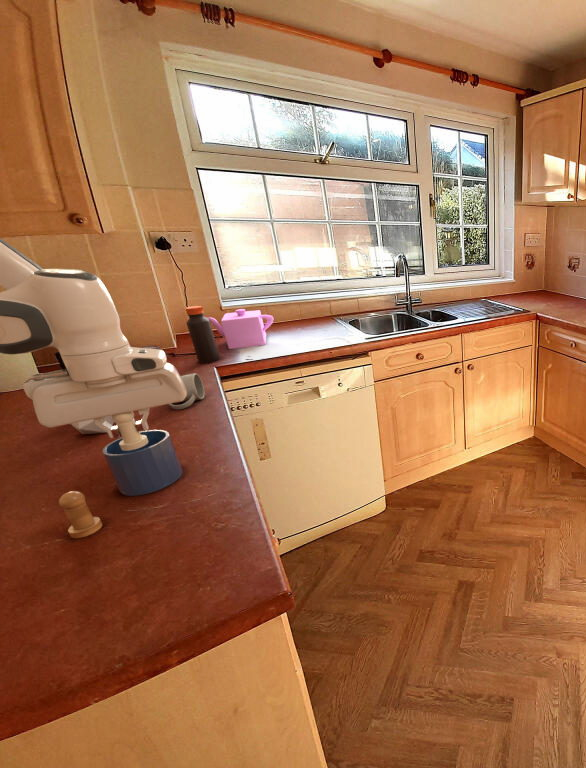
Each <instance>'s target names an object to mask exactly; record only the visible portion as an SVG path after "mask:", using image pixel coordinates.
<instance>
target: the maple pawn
mask: <svg viewBox="0 0 586 768" xmlns="http://www.w3.org/2000/svg"><path fill="white" fill-rule="evenodd" d="M58 505H59V507H60V508H61V509H63V511H64V513H65V515H66V517H67V519H68V521H69V522H70V526H69V528H68V529H67V533H68V534H69V537H70V538H72V539H82V538H85V537H88V536H90V535H93V534H95V533H97V532H98V531H100V530H101V529H102V527H103V522H102V520H101V518H100V517H99V516H93V515H92V512H91V511H90V509H89V506H88V504H87V502H86V496H85V494H83V493H82V492H81V491H77V490H72V491H71V490H70V491H68V492H66V493H64V494H62V495H61V496H60V498H59V500H58Z"/></svg>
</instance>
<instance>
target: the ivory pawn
mask: <svg viewBox="0 0 586 768" xmlns="http://www.w3.org/2000/svg"><path fill="white" fill-rule="evenodd" d="M112 419H113V420H114V423H115V426H117V427H118V429H119V432H120V434H121V436H120V438H122V439H123V440H122V441H121V442H120V443H119V445H120V447H121V449H122V450H123V451H129V450H134V449H138V448H141V447H143V446H145V445H146V444H147V443H148V439H147V437H146V436H145V435H141V434H140V432H138V431H137V428H136V426H135V424H136V419H135V413H134V411H131V412H126V413H121V414H116V415H112Z"/></svg>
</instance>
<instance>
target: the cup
mask: <svg viewBox="0 0 586 768" xmlns="http://www.w3.org/2000/svg"><path fill="white" fill-rule="evenodd" d="M140 434H141V435H145V436H146V437H147V439H148V443H147V444H146V445H145V446H143V447H141V448H138V449H134V450H129V451H123V450H122V449H121V447H120V445H119V443H120V442H121V441H122V440H123V439H122V437H118V438H116V439H115V440H113V441H111V442H110V443H108V444H106V445H105V446H104V447H103V448H102V451H101V453H102V455H103V458H104V459H105V460H104V461H106V464H107V467H108V468H109V471H110V473H111V475H112V478H113V480H114V482H115V484H116V487H117V489H118V490H119V493H120V494H121V495H123V496H127V497H136V496H142V495H148V494H152V493H154V492H157V491H160V490H162V489H164V488H167V487H169V486H171V485H172V484H174V483H175V482H176V481H178V480H179V479H180V478H181V477H182V475H183V474H184V473H183V467H182V465H181V462H180V459H179V457H178V454H177V451H176V449H175V445H174V442H173V439H172V437H171V435H170V432H169V431H168V430H163V429H148V430H147V431H143V432H140Z"/></svg>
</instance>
